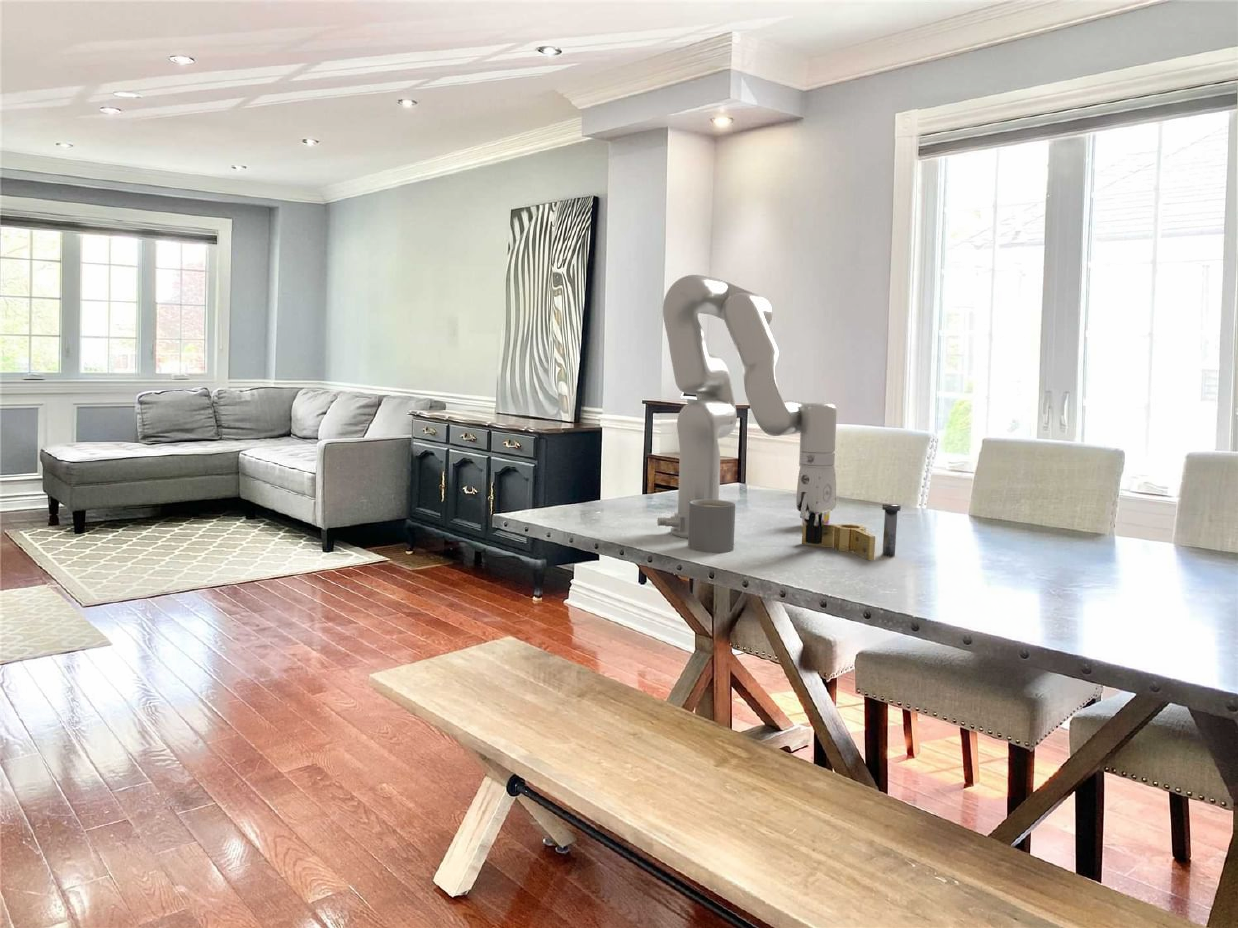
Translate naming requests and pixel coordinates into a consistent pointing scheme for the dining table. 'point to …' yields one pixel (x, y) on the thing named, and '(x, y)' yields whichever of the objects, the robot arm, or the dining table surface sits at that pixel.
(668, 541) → the dining table surface
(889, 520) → the hinge pin
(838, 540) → the hinge base
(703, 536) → the coffee mug
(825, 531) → the wooden hinge leaf
